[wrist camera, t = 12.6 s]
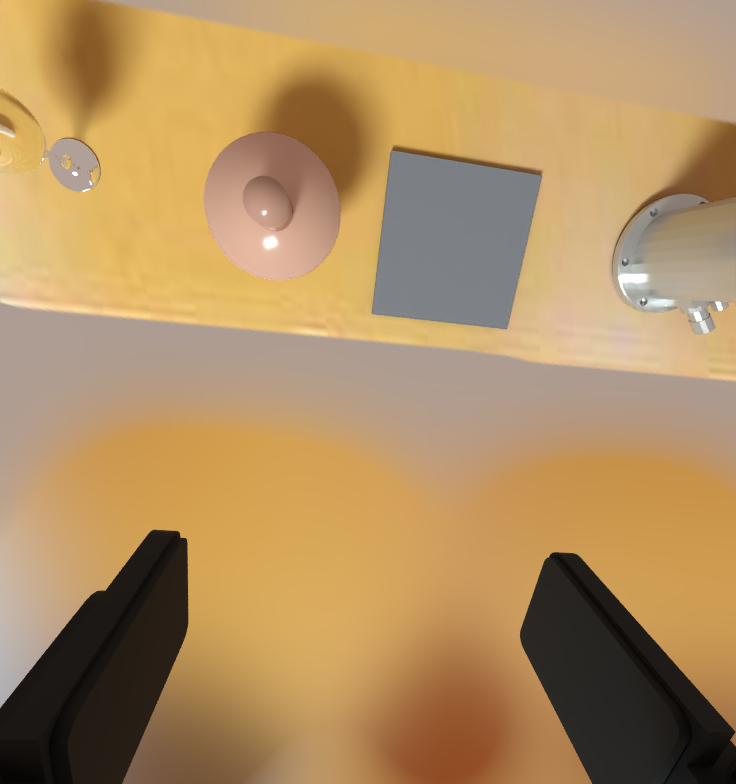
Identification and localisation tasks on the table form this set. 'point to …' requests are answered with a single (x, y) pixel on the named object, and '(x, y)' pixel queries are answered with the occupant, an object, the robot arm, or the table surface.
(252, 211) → the lid
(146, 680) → the robot arm
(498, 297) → the mat
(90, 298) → the table surface
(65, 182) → the wineglass
